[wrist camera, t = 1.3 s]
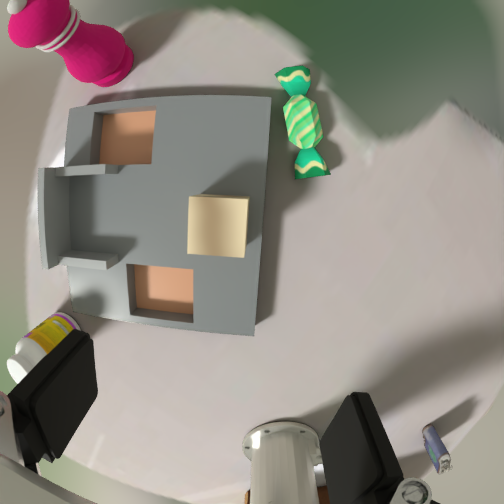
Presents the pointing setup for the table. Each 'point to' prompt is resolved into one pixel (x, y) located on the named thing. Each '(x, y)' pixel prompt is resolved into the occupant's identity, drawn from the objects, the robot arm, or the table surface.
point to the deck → (156, 209)
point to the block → (218, 225)
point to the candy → (302, 122)
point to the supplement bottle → (39, 344)
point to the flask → (436, 449)
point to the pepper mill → (71, 40)
